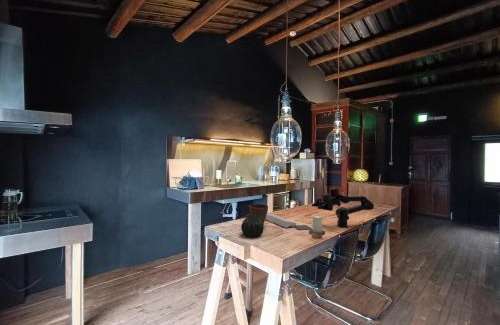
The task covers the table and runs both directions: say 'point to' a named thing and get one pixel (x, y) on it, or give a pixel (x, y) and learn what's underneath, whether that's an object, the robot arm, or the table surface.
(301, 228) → the rubber mat
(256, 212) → the plant pot
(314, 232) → the walnut offcut stack
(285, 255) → the table surface
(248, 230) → the squash
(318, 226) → the sage plank
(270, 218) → the decorative molding
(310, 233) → the offcut rack
